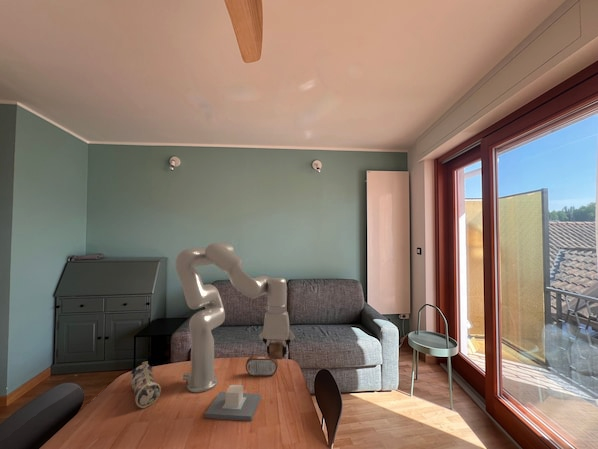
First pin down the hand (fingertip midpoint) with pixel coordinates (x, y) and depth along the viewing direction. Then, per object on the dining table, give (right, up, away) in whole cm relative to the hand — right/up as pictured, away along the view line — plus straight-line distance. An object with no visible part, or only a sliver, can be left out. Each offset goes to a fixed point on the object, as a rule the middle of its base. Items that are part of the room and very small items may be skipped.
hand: (276, 354), depth 102 cm
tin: (-9, -19, +17) cm, 27 cm away
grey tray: (-16, -17, -5) cm, 24 cm away
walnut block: (0, -1, 0) cm, 1 cm away
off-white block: (-16, -15, -5) cm, 22 cm away
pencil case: (-54, -18, +2) cm, 57 cm away
